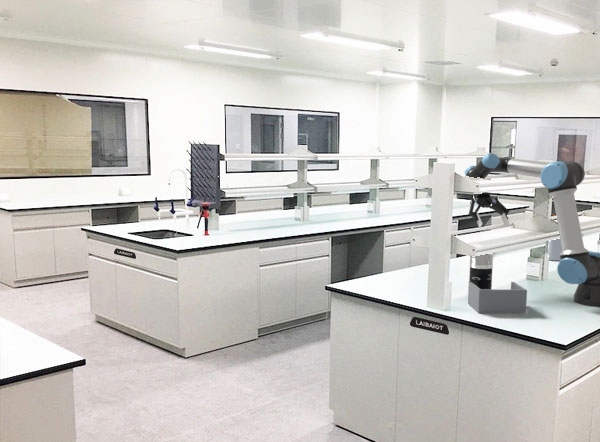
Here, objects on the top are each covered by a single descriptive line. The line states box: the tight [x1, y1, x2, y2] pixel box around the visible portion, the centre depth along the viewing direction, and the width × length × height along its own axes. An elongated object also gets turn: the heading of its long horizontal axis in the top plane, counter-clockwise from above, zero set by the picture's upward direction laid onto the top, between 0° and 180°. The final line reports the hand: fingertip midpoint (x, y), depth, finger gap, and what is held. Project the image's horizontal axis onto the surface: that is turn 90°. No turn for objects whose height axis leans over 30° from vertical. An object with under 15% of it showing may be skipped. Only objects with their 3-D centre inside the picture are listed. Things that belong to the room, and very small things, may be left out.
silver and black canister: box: [468, 253, 494, 289], centre depth 259 cm, size 10×10×25 cm
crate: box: [467, 281, 528, 314], centre depth 244 cm, size 20×16×10 cm
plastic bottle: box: [548, 214, 563, 262], centre depth 358 cm, size 15×15×28 cm
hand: (494, 225), depth 269 cm, fingers open, 13 cm apart
